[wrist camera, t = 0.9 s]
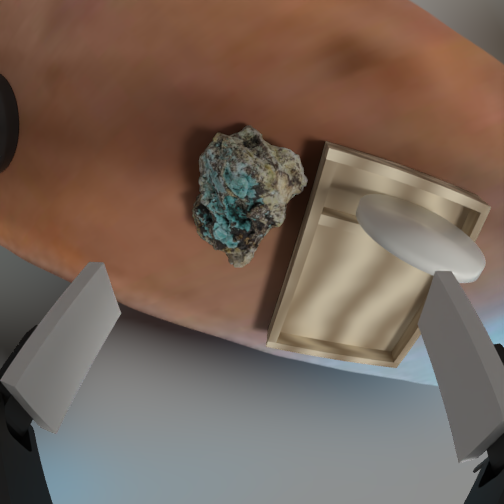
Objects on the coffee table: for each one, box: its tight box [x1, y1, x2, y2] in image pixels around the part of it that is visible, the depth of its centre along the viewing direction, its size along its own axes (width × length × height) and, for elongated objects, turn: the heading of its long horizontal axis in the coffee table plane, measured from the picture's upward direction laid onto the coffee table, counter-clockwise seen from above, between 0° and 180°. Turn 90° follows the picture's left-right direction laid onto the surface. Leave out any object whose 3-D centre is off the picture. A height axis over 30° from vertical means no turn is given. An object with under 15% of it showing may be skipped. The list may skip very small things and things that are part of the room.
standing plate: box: [356, 194, 485, 283], centre depth 24 cm, size 12×1×12 cm, turn 79°
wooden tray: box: [266, 141, 491, 368], centre depth 33 cm, size 18×24×3 cm
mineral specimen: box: [192, 125, 308, 267], centre depth 29 cm, size 12×9×8 cm
